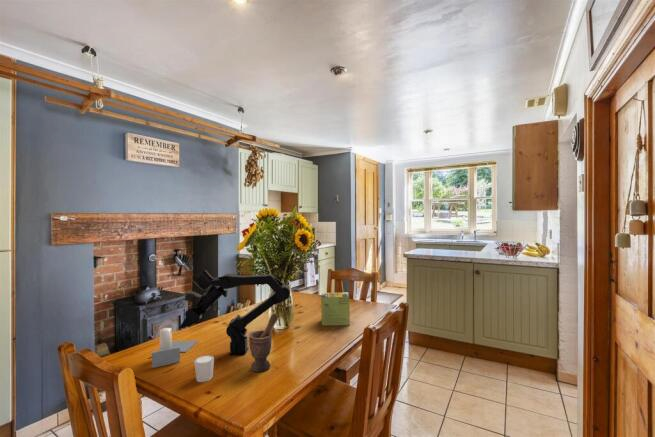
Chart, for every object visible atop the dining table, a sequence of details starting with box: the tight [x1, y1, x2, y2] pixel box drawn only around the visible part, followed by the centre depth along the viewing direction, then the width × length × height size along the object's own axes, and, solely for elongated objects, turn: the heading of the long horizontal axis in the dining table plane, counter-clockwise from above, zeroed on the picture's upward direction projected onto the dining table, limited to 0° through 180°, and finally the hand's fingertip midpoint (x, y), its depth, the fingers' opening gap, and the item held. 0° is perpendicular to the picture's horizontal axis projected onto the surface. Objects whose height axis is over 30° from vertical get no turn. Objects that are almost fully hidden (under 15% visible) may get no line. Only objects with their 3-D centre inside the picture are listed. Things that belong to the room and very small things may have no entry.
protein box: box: [320, 291, 351, 326], centre depth 173 cm, size 10×15×16 cm
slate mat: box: [172, 340, 199, 354], centre depth 144 cm, size 12×12×1 cm
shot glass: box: [193, 355, 215, 383], centre depth 115 cm, size 7×7×7 cm
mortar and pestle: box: [248, 313, 279, 373], centre depth 123 cm, size 12×9×20 cm
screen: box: [151, 346, 181, 369], centre depth 127 cm, size 10×1×6 cm, turn 118°
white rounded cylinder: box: [158, 327, 173, 350], centre depth 133 cm, size 5×5×12 cm
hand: (184, 324), depth 134 cm, fingers open, 9 cm apart
